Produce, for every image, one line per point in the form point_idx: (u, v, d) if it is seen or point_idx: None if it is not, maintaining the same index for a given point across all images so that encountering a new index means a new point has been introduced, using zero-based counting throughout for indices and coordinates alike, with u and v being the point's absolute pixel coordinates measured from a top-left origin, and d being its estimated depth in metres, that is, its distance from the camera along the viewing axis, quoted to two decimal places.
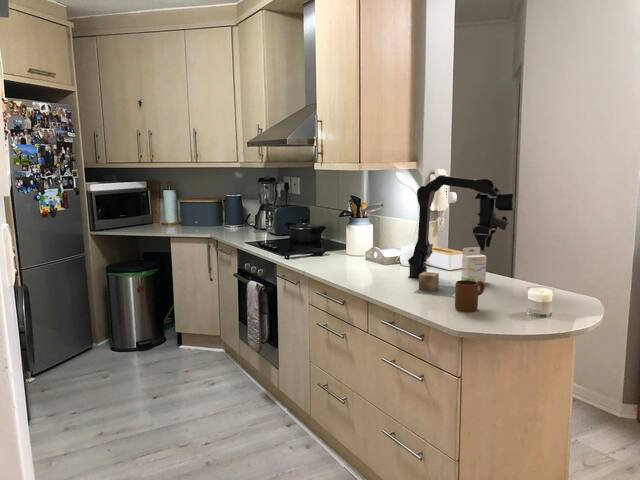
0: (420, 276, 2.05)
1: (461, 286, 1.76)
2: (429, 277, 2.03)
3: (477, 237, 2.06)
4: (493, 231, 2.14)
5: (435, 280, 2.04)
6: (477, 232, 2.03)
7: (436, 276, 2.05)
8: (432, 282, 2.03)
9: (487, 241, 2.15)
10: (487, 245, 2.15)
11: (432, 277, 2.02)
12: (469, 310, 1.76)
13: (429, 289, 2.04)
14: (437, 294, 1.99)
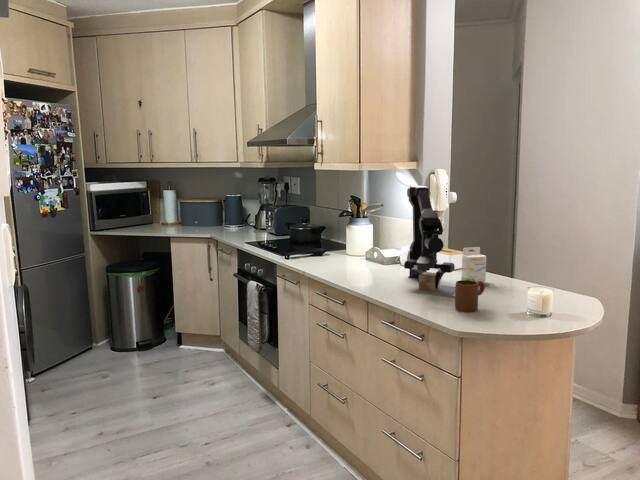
0: (420, 276, 2.05)
1: (461, 286, 1.76)
2: (429, 277, 2.03)
3: None
4: None
5: (435, 280, 2.04)
6: None
7: None
8: (432, 282, 2.03)
9: None
10: None
11: (432, 277, 2.02)
12: (469, 310, 1.76)
13: (429, 289, 2.04)
14: (437, 294, 1.99)
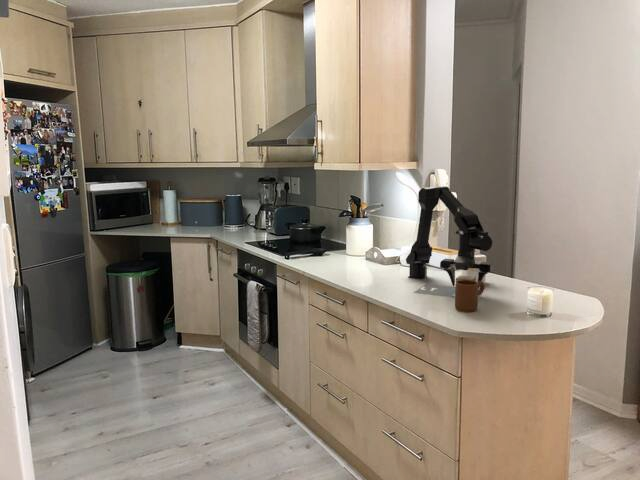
0: (457, 280, 1.97)
1: (461, 286, 1.76)
2: None
3: None
4: None
5: None
6: None
7: (474, 280, 1.97)
8: None
9: None
10: None
11: None
12: (469, 310, 1.76)
13: None
14: (437, 294, 1.99)
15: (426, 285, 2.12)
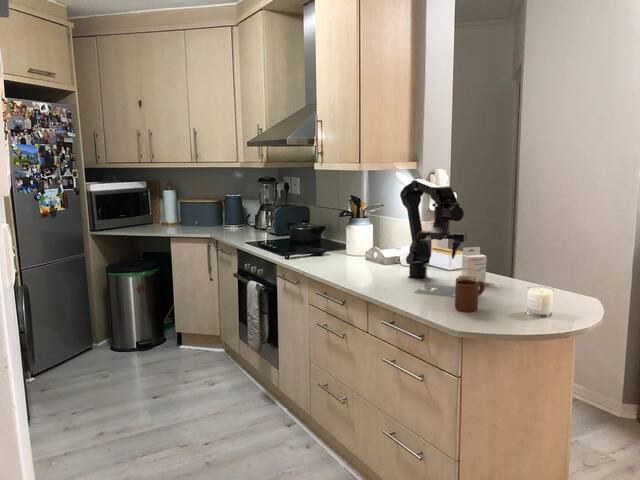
0: (457, 280, 1.97)
1: (461, 286, 1.76)
2: None
3: None
4: None
5: None
6: None
7: (474, 280, 1.97)
8: None
9: None
10: None
11: None
12: (469, 310, 1.76)
13: None
14: (437, 294, 1.99)
15: (426, 285, 2.12)
